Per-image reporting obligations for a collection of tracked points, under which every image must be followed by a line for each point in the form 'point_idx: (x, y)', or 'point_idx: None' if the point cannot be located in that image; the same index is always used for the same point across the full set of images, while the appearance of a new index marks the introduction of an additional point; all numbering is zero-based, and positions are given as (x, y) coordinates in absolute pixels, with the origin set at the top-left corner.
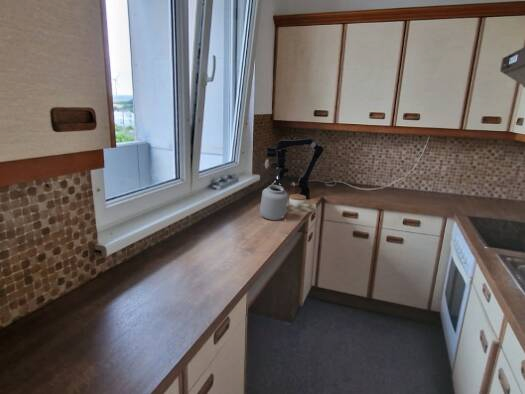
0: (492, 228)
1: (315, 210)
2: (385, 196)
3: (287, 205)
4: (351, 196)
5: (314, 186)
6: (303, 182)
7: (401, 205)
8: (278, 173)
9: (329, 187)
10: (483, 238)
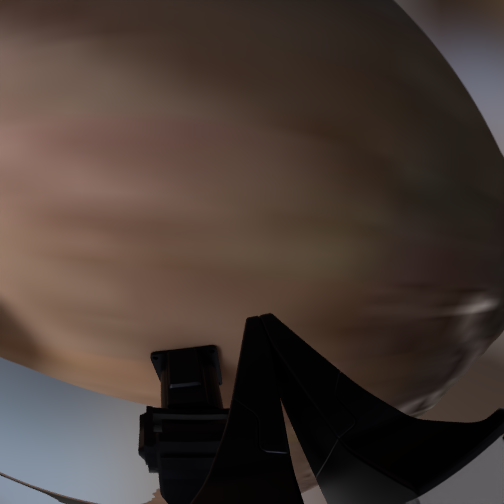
0: (67, 500)
1: None
2: None
3: None
4: None
5: (415, 379)
6: (152, 472)
7: (159, 496)
8: (328, 424)
9: None
10: (15, 480)
